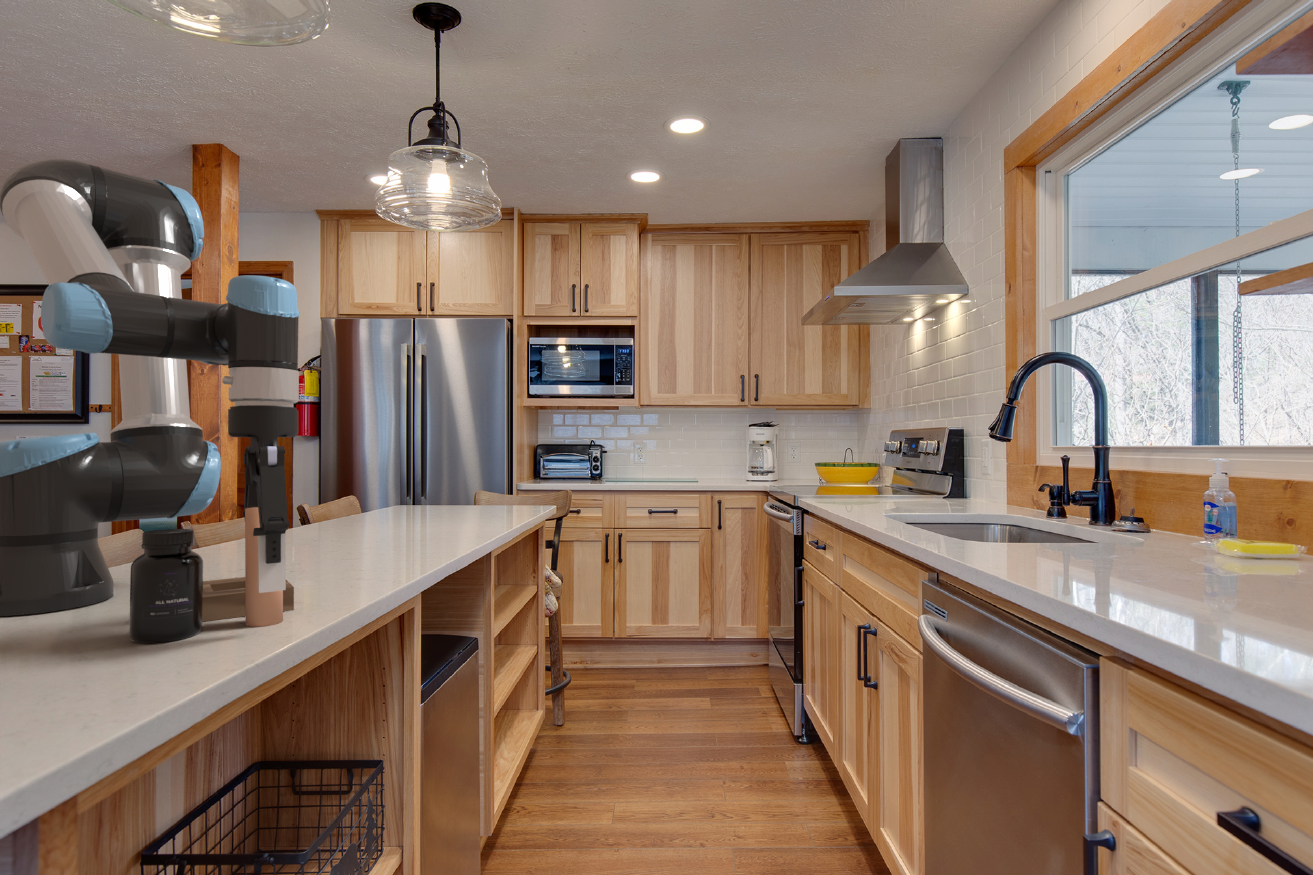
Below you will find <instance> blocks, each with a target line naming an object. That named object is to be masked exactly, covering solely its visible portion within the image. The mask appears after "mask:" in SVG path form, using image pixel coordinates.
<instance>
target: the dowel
mask: <svg viewBox="0 0 1313 875" xmlns="http://www.w3.org/2000/svg"><path fill="white" fill-rule="evenodd" d="M254 528H260V523H259V512H258V507H252V508H246V509H245V518H244V542H245V543H244V547H245V552H244V554H245V555H244V556H245V557H244V564H245V565H244V566H245V567H244V572H245V573H244V575H245V576H244V577H245V609H246V616H245V626H246V627H250V628H251V627H252V628H253V627H254V628H257V627H258V628H259V627H266V626H267V627H268V626H273V625H278V624H280V623H282V622H283V621H284V611H283V590H281V591H273V592H264V593H259V592H258V536H253V530H254Z"/></svg>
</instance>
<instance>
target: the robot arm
mask: <svg viewBox="0 0 1313 875" xmlns="http://www.w3.org/2000/svg"><path fill="white" fill-rule="evenodd" d="M0 213H1V214H2V216H3V219H4V221H5V223H6V224H7V226H8V227H9V228H10V229H11V231H12V232H13V233H14V234H16V235H17V236H18V237H20V238H21V239H22V240H24V241H25V242H26V243H27V245H28V248H29V250H30V252H31V254H32V255H33V257H34V260H35V261H36V263H37V265H38V267H39V269H40V271H41V273H42V274H43V276H44V278H45V280H46V282H47V283H48V286H47V287H46V288H45V290H44V293H43V296H42V300H41V301H42V302H41V305H40V306H41V308H40V324H41V326H42V334H43V337H44V339H45V341H46V342H47V343H48V344H49V345H50V346H52V347H54V348H57V349H63V350H68V351H78V352H79V351H80V352H82V353H85V354H107V355H108V354H110V355H118V366H119V367H118V368H119V383H120V385H119V386H120V404H121V419H122V420H121V422H119V424H117V425H116V426H115V427H114V428H113V429H112V430H111V431H110V441H109V442H103V441H102V442H100V438H99V436H98V434H97V433H96V432H81V433H71V434H59V435H49V436H48V435H47V436H37V437H29V438H27V437H26V438H18V439H9V440H3V441H0V617H1V616H2V617H5V616H21V615H31V614H32V615H33V614H40V613H41V614H42V613H50V612H56V611H63V610H69V609H75V608H80V607H86V606H89V605H93V604H94V605H95V604H97V603H100V602H103V601H106V600H109V599H111V598H112V597H114V578H113V577H112V574H111V572H110V570H109V569H110V568H109V567H108V565H107V562H106V559H105V558H104V555H103V552H102V550H101V548H100V545H99V539H98V538H99V535H98V534H99V523H109V522H111V523H112V522H124V521H135V520H136V521H137V520H139V521H140V520H148V519H149V520H150V519H163V518H166V519H174V518H177V517H185V516H193V515H197V514H200V513H202V512H203V511H205V510H206V509H207V508H208V507H209V506H210V504H211V503H212V501H213V499H214V498H215V496H216V494H217V489H218V487H219V483H220V479H221V470H222V461H221V459H222V458H221V454H220V452H219V448H218V446H217V445H216V444H215V442H211V441H209V440H204V435H203V427H201V426H200V425H198V424H197V423H196V422H195V421H193V420H192V418H191V412H190V398H189V397H190V396H189V385H188V384H189V381H188V368H187V361H196V362H197V361H199V362H201V363H203V364H207V365H212V366H213V365H217V366H218V365H220V366H227V369H228V375H225V376H223V377H222V381H221V382H222V384H223V385H230V386H229V387H228V401H229V402H231V403H234V406H230V407H229V408H228V409H227V434H228V435H229V436H230V437H232V438H250V446H246V447H245V449H244V453H243V463H244V467H245V468H244V480H245V481H244V501H243V503H244V504H243V511H242V516H243V517H244V519H245V509H246V508H252V507H258V512H259V523H260V528H254V530H253V536H258V592H259V593H264V592H273V591H281V590H286V580H287V579H286V574H287V572H286V570H287V569H286V566H287V565H286V562H287V560H286V559H287V558H286V531H287V530H289V528H290V521H289V515H288V512H289V511H288V499H287V498H288V497H287V485H286V482H287V481H286V470H285V469H286V468H285V460H286V458H285V454H286V449H285V447H284V445H282V446H279V438H295V437H297V436H298V434H299V410H297V407H294V404H296V403H298V402H299V399H300V397H299V396H300V394H299V393H300V392H299V391H300V390H299V389H300V384H299V381H300V380H299V379H300V374H299V373H300V372H299V368H298V367H299V366H298V365H299V317H300V311H299V305H298V291H297V288H296V286H295V285H293V283H291V282H290V281H287V280H285V279H282V278H278V277H277V278H276V277H274V276H273V277H272V276H271V277H270V276H266V275H253V274H252V275H249V274H248V275H246V274H245V275H238V276H234V277H232V278H231V279H230V280H229V282H228V287H227V294H226V296H225V300H226V302H227V303H214V302H207V301H200V300H192V299H185V298H184V299H183V295H182V281H181V276H182V275H183V274H185V272H187V271H188V270H189V269H190V268H191V265H192V264H191V262H193V261H196V260H197V259H198V258H199V256H200V255H201V254H202V251H203V246H204V242H203V239H204V238H205V227H204V226H205V225H204V220H203V216H202V212H201V209H200V206H199V205H198V202H197V201H196V199H195V198H194V197H193V195H192V194H190V193H189V192H188V191H187V190H185V189H183V188H181V187H178V186H175V185H171V184H168V183H166V182H164V181H162V180H158V179H149V178H145V177H140V176H137V175H132V174H128V173H126V172H125V173H124V172H120V171H117V170H114V169H113V170H112V169H108V168H104V167H101V166H96V165H93V164H88V163H86V162H82V161H77V160H70V159H63V158H62V159H61V158H59V159H46V160H40V161H34V162H31V163H28V164H26V165H24V166H21V167H20V168H18V169H16V170H15V171H13V172H12V173H11V174H9V175H8V177H7V178H6V179H5V181H3V183H2V185H1V188H0Z"/></svg>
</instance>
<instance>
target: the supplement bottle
mask: <svg viewBox="0 0 1313 875" xmlns="http://www.w3.org/2000/svg"><path fill="white" fill-rule="evenodd" d="M194 546H195V541H194V529H191V528H190V529H188V528H171V529H170V528H167V529H156V530H154V529H153V530H147V531H143V532H142V542H141V549H143V550H144V553H143V554H141V555H140V556H138V557H136V558H135V559H134V560H133V561H132V562H131V565H130V577H129V578H130V579H129V580H130V583H129V584H130V585H129V586H130V587H129V590H130V591H129V637H130V640H131V641H133V642H134V643H139V644H159V643H167V642H175V641H176V642H177V641H180V640H185V639H188V638H192V637H194V636H196V635H197V634H199V633H200V632H201V630H202V627H203V622H202V604H203V581H204V560H203V558H202V556H201V555H200V554H199V553H197V552H195V551H193V550H192V547H194Z"/></svg>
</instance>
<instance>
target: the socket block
mask: <svg viewBox="0 0 1313 875" xmlns="http://www.w3.org/2000/svg"><path fill="white" fill-rule="evenodd" d="M294 594H295V587H294V586H293V584H292V583H290V582H289V581H288V580H287V579H286V590H283V612H287V611H294V610H295V596H294ZM241 617H242V618H243V617H246V609H245V576H242V577H241V576H240V577H232V578H231V577H230V578H223V579H222V578H220V579H214V580H213V579H211V580H203V604H202V623H205V622H211V621H212V622H213V621H219V620H226V619H227V620H228V619H234V618H241Z"/></svg>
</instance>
